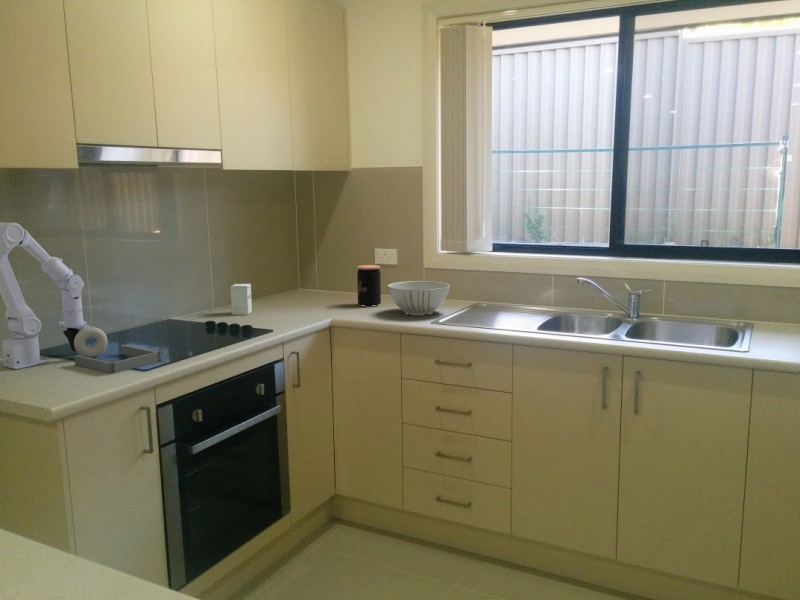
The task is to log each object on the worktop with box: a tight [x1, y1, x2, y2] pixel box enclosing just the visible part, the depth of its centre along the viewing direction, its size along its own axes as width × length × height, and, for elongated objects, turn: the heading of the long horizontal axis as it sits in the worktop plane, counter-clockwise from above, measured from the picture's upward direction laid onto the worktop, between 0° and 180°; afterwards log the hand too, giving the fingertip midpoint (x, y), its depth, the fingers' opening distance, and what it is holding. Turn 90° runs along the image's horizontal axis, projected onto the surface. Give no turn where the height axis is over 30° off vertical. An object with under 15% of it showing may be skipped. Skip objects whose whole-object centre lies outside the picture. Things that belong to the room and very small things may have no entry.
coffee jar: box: [356, 264, 382, 306], centre depth 308 cm, size 11×11×18 cm
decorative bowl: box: [387, 280, 451, 316], centre depth 288 cm, size 27×27×12 cm
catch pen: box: [73, 344, 162, 374], centre depth 208 cm, size 17×19×3 cm
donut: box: [74, 326, 109, 358], centre depth 215 cm, size 10×4×10 cm, turn 125°
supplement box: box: [230, 283, 253, 316], centre depth 289 cm, size 7×7×13 cm
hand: (76, 350), depth 221 cm, fingers closed
